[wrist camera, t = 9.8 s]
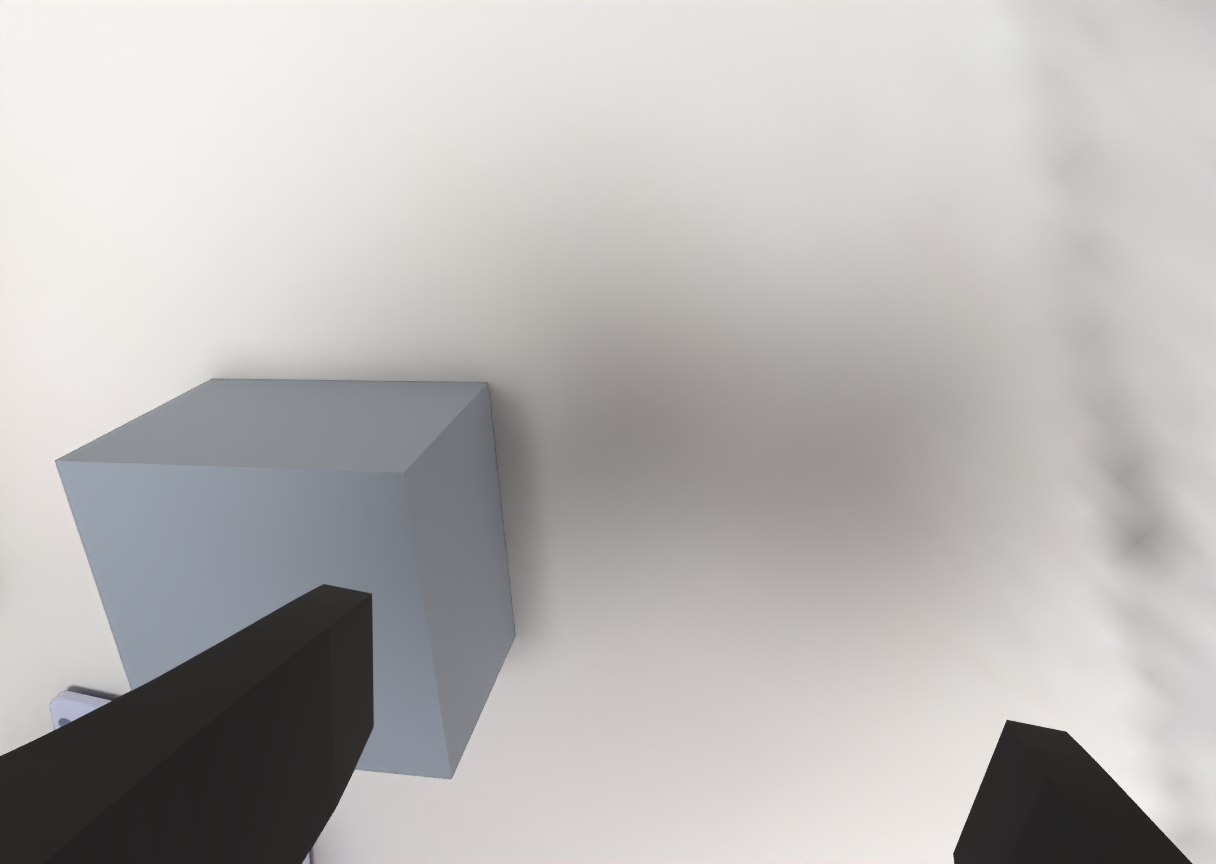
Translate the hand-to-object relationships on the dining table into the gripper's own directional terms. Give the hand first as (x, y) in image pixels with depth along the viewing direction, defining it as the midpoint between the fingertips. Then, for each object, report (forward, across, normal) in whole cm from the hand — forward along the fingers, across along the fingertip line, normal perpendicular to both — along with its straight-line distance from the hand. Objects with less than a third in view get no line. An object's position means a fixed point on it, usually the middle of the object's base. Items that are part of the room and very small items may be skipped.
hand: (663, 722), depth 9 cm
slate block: (+10, +8, +4) cm, 13 cm away
